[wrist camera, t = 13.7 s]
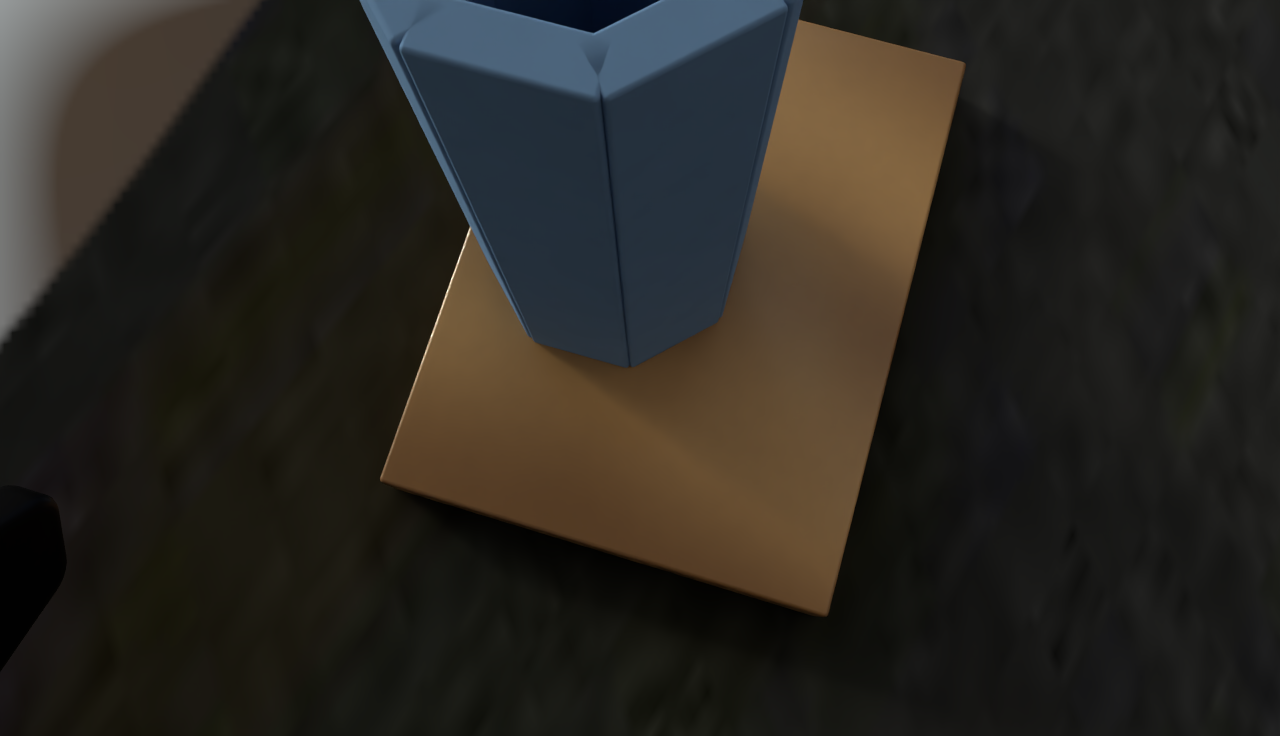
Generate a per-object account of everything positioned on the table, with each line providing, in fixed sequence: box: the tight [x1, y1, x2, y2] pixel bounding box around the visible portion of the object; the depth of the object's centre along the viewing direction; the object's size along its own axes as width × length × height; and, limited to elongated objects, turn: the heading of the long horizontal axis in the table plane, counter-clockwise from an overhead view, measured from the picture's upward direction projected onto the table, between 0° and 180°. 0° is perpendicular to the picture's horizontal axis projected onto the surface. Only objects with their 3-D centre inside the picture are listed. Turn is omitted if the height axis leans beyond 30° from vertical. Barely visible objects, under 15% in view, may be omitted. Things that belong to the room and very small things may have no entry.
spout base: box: [380, 20, 966, 617], centre depth 20 cm, size 12×9×4 cm
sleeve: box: [360, 0, 803, 368], centre depth 15 cm, size 5×5×11 cm
